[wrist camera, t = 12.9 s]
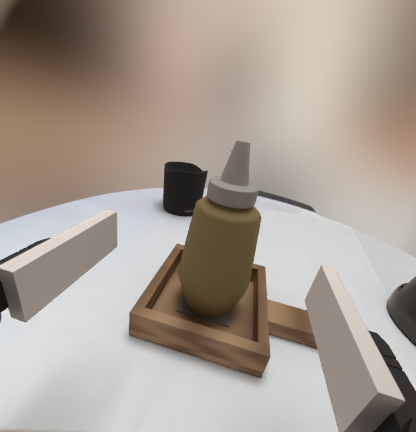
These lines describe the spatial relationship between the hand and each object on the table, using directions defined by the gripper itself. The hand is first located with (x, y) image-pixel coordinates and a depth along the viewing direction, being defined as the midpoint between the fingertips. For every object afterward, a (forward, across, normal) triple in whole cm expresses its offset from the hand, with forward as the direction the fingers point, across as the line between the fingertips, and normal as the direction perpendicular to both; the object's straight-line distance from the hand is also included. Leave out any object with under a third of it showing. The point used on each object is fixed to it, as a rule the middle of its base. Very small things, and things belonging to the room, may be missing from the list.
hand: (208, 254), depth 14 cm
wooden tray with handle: (+8, +5, -12) cm, 16 cm away
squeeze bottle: (+8, 0, -12) cm, 14 cm away
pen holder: (+34, -12, -13) cm, 38 cm away
